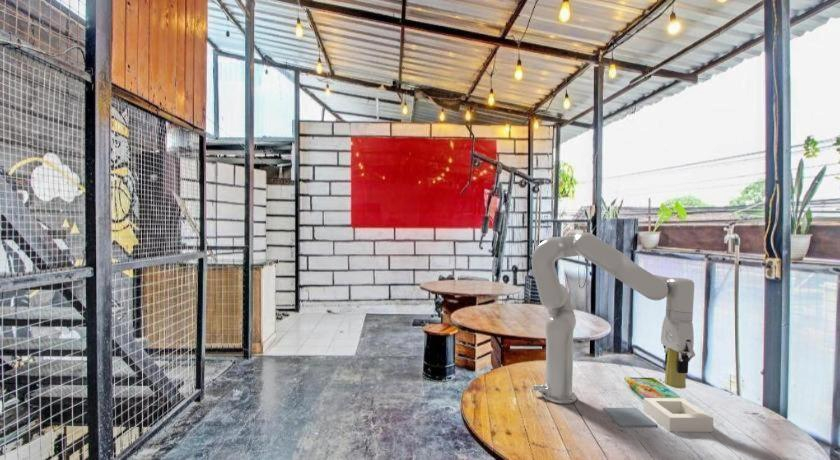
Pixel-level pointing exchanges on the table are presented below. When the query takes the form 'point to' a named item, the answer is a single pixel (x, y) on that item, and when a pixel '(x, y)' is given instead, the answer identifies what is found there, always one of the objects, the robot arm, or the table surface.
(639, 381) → the puzzle game
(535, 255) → the robot arm
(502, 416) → the table surface
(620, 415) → the mat
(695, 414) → the well board
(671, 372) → the vase
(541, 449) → the table surface
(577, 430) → the table surface
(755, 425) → the table surface
